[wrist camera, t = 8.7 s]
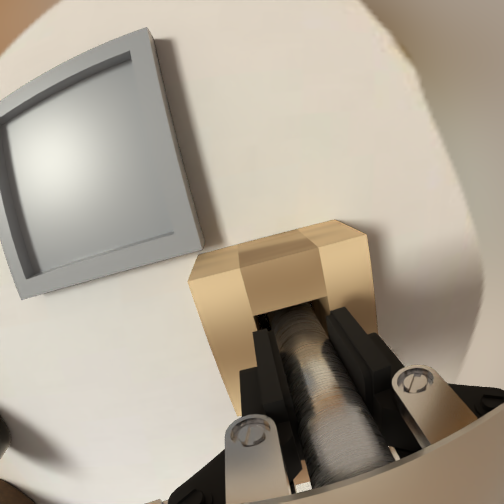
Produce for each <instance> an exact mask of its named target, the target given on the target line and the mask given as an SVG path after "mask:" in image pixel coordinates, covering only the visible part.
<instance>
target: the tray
mask: <svg viewBox="0 0 504 504" xmlns="http://www.w3.org/2000/svg"><path fill="white" fill-rule="evenodd" d="M0 240H1V244H2V247H3V250H4V254H5V257H6V260H7V263H8V266H9V269H10V272H11V274H12V277H13V280H14V283H15V285H16V288H17V291H18V293H19V296H20V298H21V300H23V299H27V298H30V297H34V296H37V295H41V294H44V293H47V292H51V291H54V290H58V289H61V288H65V287H68V286H72V285H76V284H79V283H83V282H86V281H90V280H93V279H97V278H100V277H104V276H108V275H111V274H115V273H118V272H122V271H126V270H129V269H133V268H137V267H140V266H144V265H148V264H151V263H155V262H159V261H162V260H166V259H170V258H173V257H177V256H181V255H185V254H188V253H192V252H196V251H200V250H202V249H203V247H204V244H205V241H204V237H203V234H202V230H201V227H200V223H199V220H198V216H197V212H196V209H195V205H194V202H193V198H192V194H191V191H190V187H189V183H188V179H187V176H186V172H185V168H184V164H183V160H182V157H181V153H180V149H179V145H178V141H177V137H176V133H175V129H174V125H173V121H172V117H171V112H170V108H169V104H168V100H167V96H166V91H165V87H164V83H163V78H162V74H161V69H160V65H159V60H158V56H157V51H156V47H155V42H154V38H153V36H152V35H151V33H150V31H149V30H148V28H147V27H146V28H143V29H140V30H137V31H134V32H132V33H129V34H126V35H124V36H121V37H119V38H116V39H114V40H111V41H109V42H106V43H104V44H102V45H99V46H97V47H95V48H93V49H90V50H88V51H86V52H84V53H82V54H80V55H78V56H76V57H74V58H72V59H70V60H68V61H66V62H64V63H62V64H60V65H58V66H56V67H54V68H52V69H51V70H49V71H47V72H45V73H44V74H42V75H40V76H38V77H37V78H35V79H33V80H32V81H30V82H28V83H27V84H25V85H23V86H22V87H20V88H19V89H17V90H16V91H14V92H13V93H11V94H10V95H8V96H7V97H5V98H4V99H2V100H1V101H0Z"/></svg>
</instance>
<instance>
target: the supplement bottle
mask: <svg viewBox="0 0 504 504" xmlns="http://www.w3.org/2000/svg"><path fill="white" fill-rule="evenodd" d="M10 442H11V436H10V432H9V430H8V428H7V426H6V424H5V422H4V421H3V419H2V418H1V417H0V459H1V458H2V456H3V455H4V453H5V452H6V450H7V448H8V447H9V445H10Z"/></svg>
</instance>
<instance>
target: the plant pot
mask: <svg viewBox="0 0 504 504" xmlns="http://www.w3.org/2000/svg"><path fill="white" fill-rule="evenodd" d="M0 504H35V503H34V502H33V501H32V500H31V499H30V498H29V497H27V496H26V495H25V494H24V493H22V492H21V491H19V490H18V489H16V488H15V487H13V486H12V485H10V484H8V483H7V482H5V481H3V480H0Z"/></svg>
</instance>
